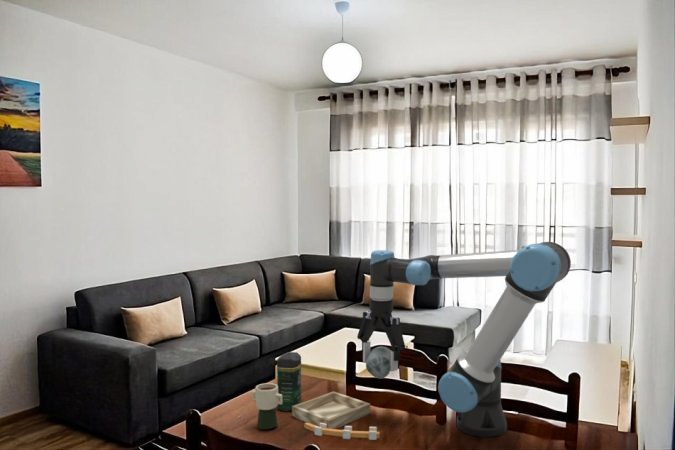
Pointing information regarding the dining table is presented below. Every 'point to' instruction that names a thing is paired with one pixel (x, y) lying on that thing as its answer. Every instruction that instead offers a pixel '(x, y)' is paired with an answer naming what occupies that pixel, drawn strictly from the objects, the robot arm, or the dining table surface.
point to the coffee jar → (289, 380)
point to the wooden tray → (331, 410)
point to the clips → (346, 431)
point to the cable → (339, 432)
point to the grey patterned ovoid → (379, 362)
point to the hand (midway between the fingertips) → (380, 365)
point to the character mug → (267, 404)
